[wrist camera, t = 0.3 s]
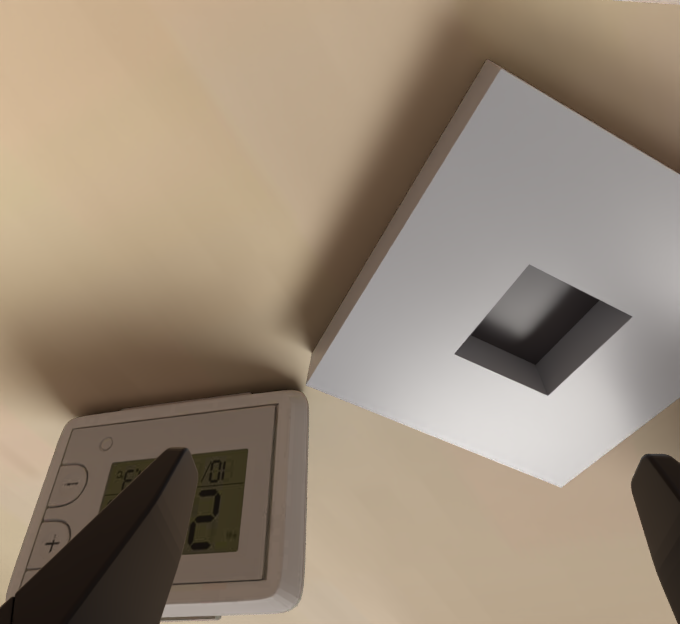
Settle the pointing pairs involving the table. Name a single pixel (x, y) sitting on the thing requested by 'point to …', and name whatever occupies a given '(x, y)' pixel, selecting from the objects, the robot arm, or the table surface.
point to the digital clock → (209, 502)
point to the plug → (655, 1)
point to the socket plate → (518, 289)
